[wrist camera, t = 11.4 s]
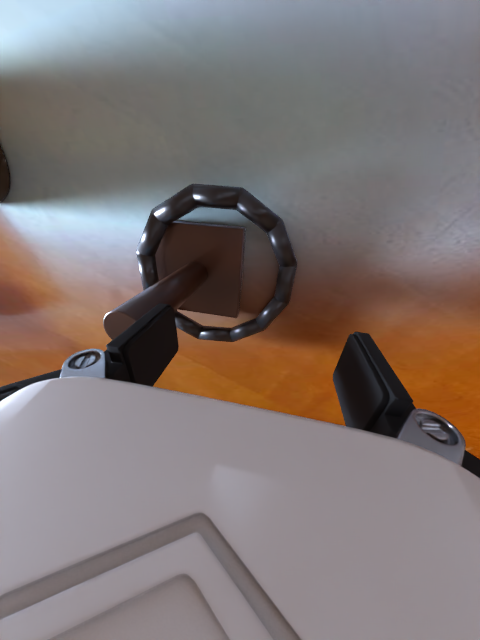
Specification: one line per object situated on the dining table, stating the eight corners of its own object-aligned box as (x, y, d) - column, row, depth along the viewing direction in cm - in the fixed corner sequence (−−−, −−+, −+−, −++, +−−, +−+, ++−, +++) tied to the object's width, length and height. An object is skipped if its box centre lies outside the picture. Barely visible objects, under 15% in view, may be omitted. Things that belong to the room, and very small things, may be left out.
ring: (129, 179, 17) (118, 177, 16) (309, 193, 17) (314, 192, 16) (155, 330, 25) (149, 337, 23) (279, 340, 25) (281, 349, 23)
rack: (156, 218, 20) (12, 234, 9) (245, 227, 19) (199, 255, 8) (166, 301, 25) (77, 376, 14) (239, 312, 23) (204, 401, 13)
